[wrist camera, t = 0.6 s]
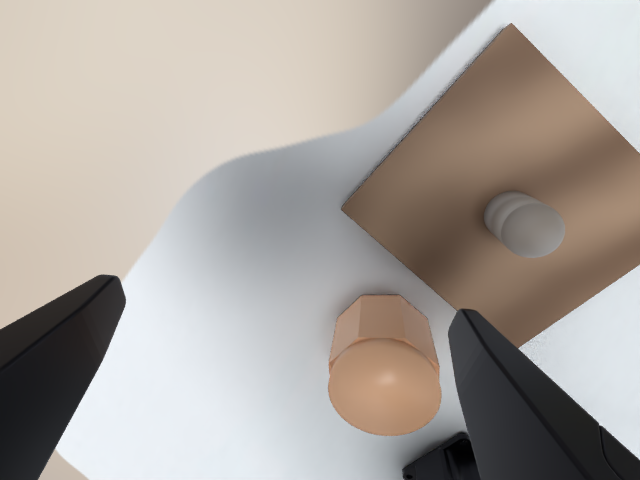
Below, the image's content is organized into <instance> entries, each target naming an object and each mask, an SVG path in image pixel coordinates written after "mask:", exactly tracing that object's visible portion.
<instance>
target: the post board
mask: <svg viewBox="0 0 640 480" xmlns="http://www.w3.org/2000/svg"><path fill="white" fill-rule="evenodd" d="M341 210H342V211H343V212H344V213H346V214H347V215H348V216H349V217H350V218H351V219H352V220H354V221H355V222H356V223H357V224H358V225H359V226H360V227H362V228H363V229H364V230H365V231H366V232H367V233H368V234H370V235H371V236H372V237H373V238H374V239H375V240H377V241H378V242H379V243H380V244H381V245H382V246H383V247H385V248H386V249H387V250H388V251H389V252H390V253H391V254H393V255H394V256H395V257H396V258H397V259H398V260H399V261H401V262H402V263H403V264H404V265H405V266H406V267H407V268H409V269H410V270H411V271H412V272H413V273H414V274H416V275H417V276H418V277H419V278H420V279H421V280H422V281H424V282H425V283H426V284H427V285H428V286H429V287H430V288H432V289H433V290H434V291H435V292H436V293H437V294H438V295H440V296H441V297H442V298H443V299H444V300H445V301H447V302H448V303H449V304H450V305H451V306H452V307H453V308H455V309H456V310H457V311H458V310H459V309H461V308H464V309H473V310H476V311H477V312H479V313H480V314H481V315H482V316H483V317H484V318H485V319H486V320H487V321H488V322H490V323H491V324H492V325H493V326H494V327H495V328H496V329H497V330H498V331H499V332H500V333H502V334H503V335H504V336H505V337H506V338H507V339H508V340H509V341H510V342H511V343H512V344H513V345H515V346H516V347H517V348H519V347H520V346H522V345H523V344H525V343H526V342H527V341H529V340H530V339H532V338H533V337H535V336H536V335H538V334H539V333H541V332H542V331H544V330H545V329H546V328H548V327H549V326H551V325H552V324H554V323H555V322H557V321H558V320H560V319H561V318H563V317H564V316H565V315H567V314H568V313H570V312H571V311H573V310H574V309H576V308H577V307H579V306H580V305H581V304H583V303H584V302H586V301H587V300H589V299H590V298H592V297H593V296H595V295H596V294H598V293H599V292H600V291H602V290H603V289H605V288H606V287H608V286H609V285H611V284H612V283H614V282H615V281H617V280H618V279H619V278H621V277H622V276H624V275H625V274H627V273H628V272H630V271H631V270H633V269H634V268H635V267H637V266H638V265H640V153H639V152H638V151H637V150H636V149H635V148H634V147H633V146H632V145H631V144H630V143H629V142H628V141H627V140H626V139H625V138H624V137H623V136H622V135H621V134H620V133H619V132H618V131H617V130H616V129H615V128H614V127H613V126H612V125H611V124H610V123H609V122H608V121H607V120H606V119H605V118H604V117H603V116H602V115H601V114H600V113H599V112H598V111H597V110H596V109H595V108H594V107H593V106H592V105H591V104H590V102H589V101H588V100H587V99H586V98H585V97H584V96H583V95H582V94H581V93H580V92H579V91H578V90H577V89H576V88H575V87H574V86H573V85H572V84H571V83H570V82H569V81H568V80H567V79H566V78H565V77H564V76H563V75H562V74H561V73H560V72H559V71H558V70H557V69H556V68H555V67H554V66H553V65H552V64H551V63H550V62H549V61H548V60H547V59H546V58H545V57H544V56H543V55H542V54H541V53H540V51H539V50H538V49H537V48H536V47H535V46H534V45H533V44H532V43H531V42H530V41H529V40H528V39H527V38H526V37H525V36H524V35H523V34H522V33H521V32H520V31H519V30H518V29H517V28H516V27H515V26H514V25H513V24H512V23H511V24H509V25H508V26H506V27H505V28H504V29H503V30H502V31H501V32H500V33H499V34H498V35H497V36H496V37H495V39H494V40H493V41H492V42H491V43H490V44H489V45H488V46H487V47H486V48H485V50H484V51H483V52H482V53H481V54H480V55H479V56H478V57H477V58H476V59H475V61H474V62H473V63H472V64H471V65H470V66H469V67H468V68H467V69H466V70H465V72H464V73H463V74H462V75H461V76H460V77H459V78H458V79H457V80H456V81H455V83H454V84H453V85H452V86H451V87H450V88H449V89H448V90H447V91H446V92H445V94H444V95H443V96H442V97H441V98H440V99H439V100H438V101H437V102H436V103H435V105H434V106H433V107H432V108H431V109H430V110H429V111H428V112H427V113H426V114H425V116H424V117H423V118H422V119H421V120H420V121H419V122H418V123H417V124H416V125H415V127H414V128H413V129H412V130H411V131H410V132H409V133H408V134H407V135H406V136H405V138H404V139H403V140H402V141H401V142H400V143H399V144H398V145H397V146H396V147H395V149H394V150H393V151H392V152H391V153H390V154H389V155H388V156H387V157H386V158H385V160H384V161H383V162H382V163H381V164H380V165H379V166H378V167H377V168H376V169H375V170H374V172H373V173H372V174H371V175H370V176H369V177H368V178H367V179H366V180H365V181H364V183H363V184H362V185H361V186H360V187H359V188H358V189H357V190H356V191H355V192H354V194H353V195H352V196H351V197H350V198H349V199H348V200H347V201H346V202H345V203H344V205H343V206H342V208H341Z"/></svg>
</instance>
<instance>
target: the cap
mask: <svg viewBox="0 0 640 480" xmlns="http://www.w3.org/2000/svg"><path fill="white" fill-rule="evenodd" d="M329 373H330V378H329V384H328V392H329V397H330V400H331V403H332V405H333V407H334V408H335V410H336V411H337V413H338V414H339V415H340V416H341V417H342V418H343V419H344V420H345V421H346V422H348V423H349V424H351V425H352V426H354V427H356V428H358V429H360V430H362V431H365V432H368V433H371V434H375V435H382V436H398V435H404V434H408V433H411V432H414V431H416V430H418V429H420V428H422V427H423V426H425V425H426V424H427V423H429V422H430V421H431V420H432V419H433V417H434V416H435V415H436V413H437V411H438V409H439V406H440V403H441V388H440V383H439V363H438V359H437V355H436V351H435V347H434V343H433V339H432V335H431V331H430V327H429V323H428V319H427V318H426V317H425V316H424V315H422V314H421V313H420V312H419V311H418V310H417V309H415V308H414V307H413V306H412V305H411V304H410V303H408V302H407V301H406V300H405V299H404V298H403V297H401V296H400V295H361V296H360V297H359V298H358V299H357V300H356V301H355V302H354V303H353V304H352V305H351V306H350V307H349V308H347V309H346V310H345V311H344V312H343V313H342V314H341V315H340V316H339V317H338V318H337V322H336V328H335V333H334V338H333V343H332V348H331V353H330V358H329Z"/></svg>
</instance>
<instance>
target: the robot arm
mask: <svg viewBox="0 0 640 480" xmlns="http://www.w3.org/2000/svg"><path fill="white" fill-rule="evenodd" d="M125 304H126V298H125V294H124V291H123V288H122V285H121V282H120V279H119V278H118V277H117V276H114V275H98V276H96V277H94V278H93V279H91V280H89V281H88V282H85V283H84V284H82V285H80V286H78V287H76V288H75V289H73V290H71V291H69V292H67V293H65V294H64V295H62V296H60V297H58V298H56V299H55V300H53V301H51V302H49V303H47V304H46V305H44V306H42V307H40V308H38V309H36V310H35V311H33V312H31V313H30V314H28V315H26V316H24V317H22V318H20V319H18V320H17V321H15V322H13V323H11V324H9V325H8V326H6V327H4V328H2V329H0V480H38V479H39V477H40V475H41V473H42V471H43V469H44V468H45V466H46V464H47V462H48V460H49V458H50V457H51V455H52V453H53V451H54V449H55V447H56V446H57V444H58V442H59V440H60V438H61V436H62V435H63V433H64V431H65V429H66V427H67V425H68V424H69V422H70V420H71V418H72V416H73V414H74V412H75V411H76V409H77V407H78V405H79V403H80V401H81V400H82V398H83V396H84V394H85V392H86V390H87V389H88V387H89V385H90V383H91V381H92V379H93V378H94V376H95V374H96V372H97V370H98V368H99V366H100V364H101V363H102V361H103V358H104V356H105V354H106V352H107V349H108V347H109V344H110V342H111V339H112V337H113V335H114V332H115V330H116V327H117V325H118V322H119V320H120V318H121V315H122V313H123V310H124V308H125ZM448 338H449V344H450V350H451V357H452V363H453V369H454V376H455V382H456V387H457V392H458V396H459V400H460V404H461V407H462V411H463V415H464V418H465V422H466V426H467V430H468V433H469V436H468V435H467V434H458V435H457V436H455V437H453V438H452V439H450V440H449V441H447V442H445V443H444V444H442V445H441V446H439V447H437V448H436V449H434V450H433V451H431V452H429V453H428V454H426V455H425V456H423V457H421V458H420V459H418V460H417V461H415V462H413V463H412V464H410V465H409V466H407V467H405V468H404V469H403V471H402V472H403V478H404V479H405V480H640V460H639V459H638V458H637V457H636V456H635V455H634V454H632V453H631V452H630V451H629V450H628V449H627V448H626V447H625V446H624V445H622V444H621V443H620V442H619V441H618V440H617V439H616V438H615V437H614V436H612V435H611V434H610V433H609V432H608V431H607V430H606V429H605V428H604V427H603V426H599V423H598V422H597V421H596V420H595V419H594V418H593V417H592V416H591V415H590V414H588V413H587V412H586V411H585V410H584V409H583V408H582V407H581V406H580V405H579V404H578V403H576V402H575V401H574V400H573V399H572V398H571V397H570V396H569V395H568V394H567V393H566V392H565V391H563V390H562V389H561V388H560V387H559V386H558V385H557V384H556V383H555V382H554V381H553V380H551V379H550V378H549V377H548V376H547V375H546V374H545V373H544V372H543V371H542V370H541V369H540V368H538V367H537V366H536V365H535V364H534V363H533V362H532V361H531V360H530V359H529V358H528V357H527V356H525V355H524V354H523V353H522V352H521V351H520V350H519V349H518V348H517V347H516V346H515V345H513V344H512V343H511V342H510V341H509V340H508V339H507V338H506V337H505V336H504V335H503V334H502V333H500V332H499V331H498V330H497V329H496V328H495V327H494V326H493V325H492V324H491V323H490V322H488V321H487V320H486V319H485V318H484V317H483V316H482V315H481V314H480V313H479V312H477V311H476V310H473V309H464V308H461V309H459V310H458V311H457V313H456V315H455V317H454V319H453V321H452V323H451V325H450V327H449V331H448Z"/></svg>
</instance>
